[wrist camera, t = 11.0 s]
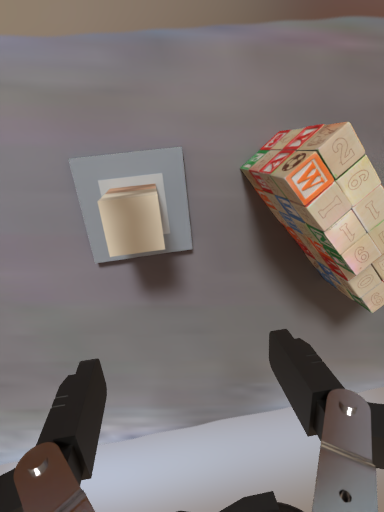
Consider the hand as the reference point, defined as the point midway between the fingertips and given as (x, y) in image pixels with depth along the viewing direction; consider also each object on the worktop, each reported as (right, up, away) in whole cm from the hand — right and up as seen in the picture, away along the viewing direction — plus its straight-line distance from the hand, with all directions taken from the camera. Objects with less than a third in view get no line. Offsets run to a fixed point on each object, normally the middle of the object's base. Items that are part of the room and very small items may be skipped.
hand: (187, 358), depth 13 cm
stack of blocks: (+15, +10, +23) cm, 30 cm away
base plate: (-6, +11, +19) cm, 23 cm away
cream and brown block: (-6, +10, +18) cm, 22 cm away
